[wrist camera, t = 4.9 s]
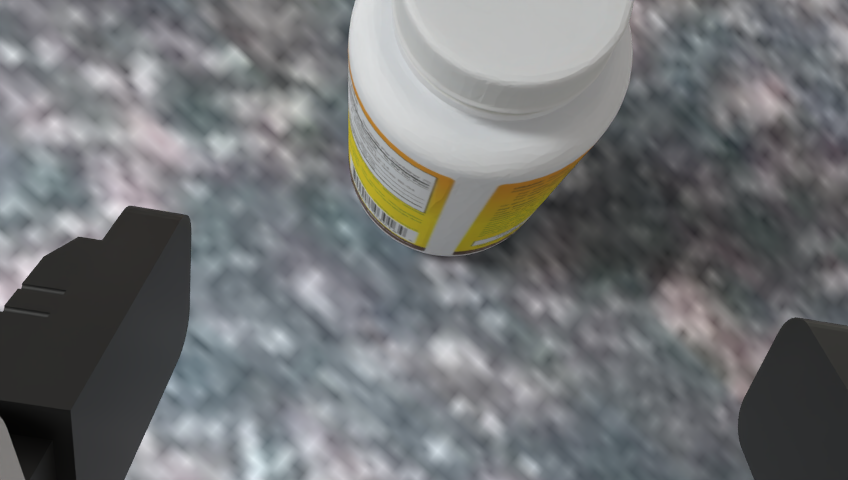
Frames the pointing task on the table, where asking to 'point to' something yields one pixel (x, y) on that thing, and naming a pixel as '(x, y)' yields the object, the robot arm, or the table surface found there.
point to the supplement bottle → (477, 110)
